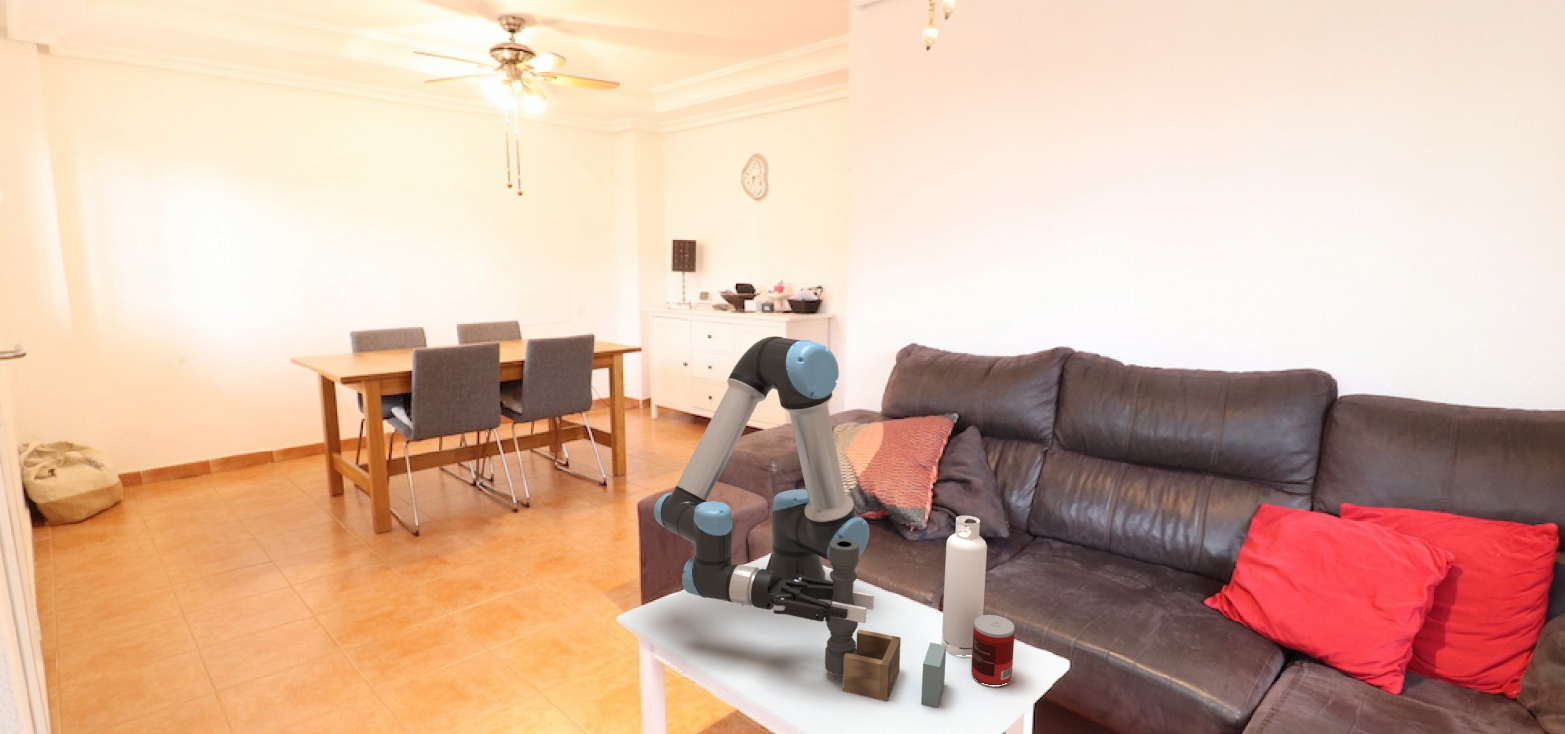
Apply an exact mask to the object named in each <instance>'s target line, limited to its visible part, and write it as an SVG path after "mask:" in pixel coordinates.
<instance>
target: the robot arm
mask: <svg viewBox="0 0 1565 734" xmlns="http://www.w3.org/2000/svg"><path fill="white" fill-rule="evenodd" d="M839 372H840V370H839V364H838V361H837V359H836V356H835V354H834V353H833V352H832V351H831V349H829V348H828V347H827V346H825V345H823V344H822V343H819V342H815V341H812V340H808V339H807V340H806V339H803V340H802V339H794V338H787V337H782V336H768V337H764V338H762V339H760V340H758V341H757V342H755V343H754V344H753V345H752V346H750V347H749V348H748V349H747V350H746V351H745V352H744V353H743V355H742V356H741V357H740V358H739V359H738V362H736V364H735V366H733V369H732V370H731V373H730V374H729V376H728V378H727V381H726V382H727V386H728V387H727V390H726V391H725V393H724V395H723V396H722V398H721V401H720V402H719V404H718V406H717V408H716V410H715V412H714V414H713V416H712V417H711V419H710V421H709V423H708V424H707V427H706V429H705V431H704V433H703V434H702V437H701V438H700V440H699V442H698V443H697V446H696V447H695V449H694V451H693V453H692V455H691V457H690V459H689V460H688V463H687V464H686V466H685V468H684V470H683V472H682V474H681V475H680V477H679V479H678V481H677V483H676V486H675V488H673V491H672V492H668V493H665V494H663V495H662V496H660V497H659V498H658V499H657V501H656V503H655V505H654V509H653V515H654V518H655V520H656V523H658V524H659V525H660V526H662V527H663V528H665V529H666V530H667V531H668V532H671V533H674V534H676V535H677V536H679V537H681V538H683V539H684V540H686V541H688V542H690V543H692V544H693V545H694V556H692V557H690V558H689V559H688V560H687V561H686V563H685V564H684V567H683V572H682V575H681V584H682V587H683V589H684V590H685V592H686V593H688V594H691V595H695V596H699V597H701V598H707V599H713V600H719V601H723V602H724V601H725V602H729V603H734V604H739V605H741V606H749V607H751V606H753V607H754V608H758V609H763V610H768V611H769V610H772V609H773V614H775V615H787V616H791V617H797V618H802V619H805V620H811V621H815V622H821V623H822V622H824V621H825V622H826V623H827V622H829V621H830V616H831V617H836V618H841V619H846V620H851V621H856V622H858V623H861V624H866V621H867V609H868V610H871V611H872V610H873V609H874V608H875V607H874V606H875V605H874V602H875V601H874V600H875V599H874V598H875V595H874V594H871V593H866V592H863V591H862V592H861V591H856V590H855V591H854V590H853V599H854V604H855V606H854V605H849V604H844V603H838V602H832V606H831V605H830V603H829V602H826V601H831V600H832V596H833V580H826V573H825V569H824V566H823V562H822V559H824V560H827V561H829V545H830V542H831V541H832V540H835V539H851V540H854V541H857V542H858V543H859V557H861V555H862V554H863V553H864V551H865V549H866V547H867V545H868V541H869V538H870V527H869V524H868V522H867V520H865V519H864V518H863V517H862V516H857V513H856V512H857V511H856V509H855V502H854V500H853V498H851V496H850V495H849V496H848V495H847V494H846V493H845V486H844V482H843V476H842V471H841V467H840V460H839V457H838V450H837V446H836V441H835V436H834V431H833V427H832V421H831V416H830V411H829V406H828V404H829V402H830V401H831V399H832V398H833V391H834V390H835V388H836V387H837V385H838V383H837V382H836V381H838V380H839V376H840V375H839ZM772 390H777V395H778V399H779V404H780V407H781V408H782V409H783V410H786V411H787V412H788V413H789V417H790V421H791V425H792V431H793V435H794V440H795V443H796V448H797V449H796V451H797V453H798V458H799V463H800V468H801V472H802V476H803V477H802V478H803V481H804V485H805V489H803V488H801V489H800V488H799V489H791V490H785V491H781V492H778V493H777V494H776V495H775V496H774V497H773V501H772V502H773V503H772V509H771V511H772V517H771V519H772V522H771V524H772V525H771V526H772V529H771V530H772V531H771V533H772V536H771V537H772V538H771V539H772V540H771V541H772V544H771V545H772V547H771V548H772V550H771V553H770V556H769V559H768V563H767V564H766V568H761V569H759V567H754V566H751V565H743V564H737V563H733V562H732V535H733V531H732V530H733V521H732V509H731V507H730V505H729V504H726V503H725V502H723V501H720V502H719V501H717V500H716V501H715V500H714V501H713V500H712V501H708V500H709V498H710V495H711V493H712V492H713V489H714V487H715V486H716V485H717V482H718V481H719V479H720V476H721V474H722V472H723V470H724V469H725V467H726V465H727V463H728V461H729V459H730V457H731V455H732V453H733V451H734V450H735V447H736V446H737V444H738V442H739V440H740V439H741V436H742V434H743V432H744V431H745V428H746V427H747V424H748V423H749V420H750V419H751V417H752V416H753V413H754V411H755V410H756V408H757V405H758V403H760V402H764V401H765V400H766V398H767V396H768V394H769V393H770V391H772ZM825 600H826V601H825Z"/></svg>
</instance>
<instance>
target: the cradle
mask: <svg viewBox="0 0 1565 734" xmlns="http://www.w3.org/2000/svg"><path fill="white" fill-rule="evenodd" d="M901 640H902V639H901V637H899V636H895V635H889V634H886V633H880V632H875V631H870V630H864V629H859V628H858V630H857V632H856V641H855V642H856V649H857V655H855V654H850V653H845V655H844V662H843V675H842V692H845V693H849V694H853V695H858V696H861V697H868V698H871V699H877V700H880V701H885V702H888V701H889V697H890V694H891V692H892V690H893V687H894V685H895V683H896V680H897V678H898V674H899V672H900V664H901V663H900V661H901V659H900V658H901Z"/></svg>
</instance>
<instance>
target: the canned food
mask: <svg viewBox="0 0 1565 734" xmlns="http://www.w3.org/2000/svg"><path fill="white" fill-rule="evenodd" d="M1015 632H1016V631H1015V624H1014V623H1013V622H1012V621H1011V620H1009V619H1008V618H1006V617H1003V616H1000V615H994V614H983V616H979V617H977V618H976V619H975V621H974V628H973V646H972V648H971V649H972V657H971V665H970V666H971V669H970V671H971V675H972V677H973V679H974V678H975V679H976V680H977V681H978V683H979V682H980V683H979V684H981V683H984V684H988V685H1002V684H1005V683H1008V682H1009V681H1010V682H1011V679H1012V674H1013V662H1014V661H1013V659H1014V646H1015ZM975 679H974V680H975ZM976 680H975V681H976ZM977 681H976V682H977ZM1010 682H1009V683H1010ZM1009 683H1008V684H1009Z"/></svg>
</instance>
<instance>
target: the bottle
mask: <svg viewBox="0 0 1565 734" xmlns="http://www.w3.org/2000/svg"><path fill="white" fill-rule="evenodd" d="M966 520H974V521H975V523H967V522H966ZM980 521H981V520H980V518H978V517H977V516H972V515H959V516H957V517H955V533H953V534H951V535H950V536H949V537H948V538H947V540H946V543H945V544H946V547H945V567H944V586H943V588H944V589H943V609H942V626H941V627H942V629H941V634H942V636H941V645H946V651H947V652H948V653H947V652H946V653H947V654H949V653H950V655H952V656H954V655H962V656H966V655H972V646H973V628H974V621H975V619H976V618H977V617H979V616H983V615H984V603H985V589H986V588H985V587H986V585H985V584H986V573H987V572H986V570H987V552H988V551H987V550H988V545H987V543H986V540H985V539H983V537H982V536H980V524H981V522H980Z"/></svg>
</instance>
